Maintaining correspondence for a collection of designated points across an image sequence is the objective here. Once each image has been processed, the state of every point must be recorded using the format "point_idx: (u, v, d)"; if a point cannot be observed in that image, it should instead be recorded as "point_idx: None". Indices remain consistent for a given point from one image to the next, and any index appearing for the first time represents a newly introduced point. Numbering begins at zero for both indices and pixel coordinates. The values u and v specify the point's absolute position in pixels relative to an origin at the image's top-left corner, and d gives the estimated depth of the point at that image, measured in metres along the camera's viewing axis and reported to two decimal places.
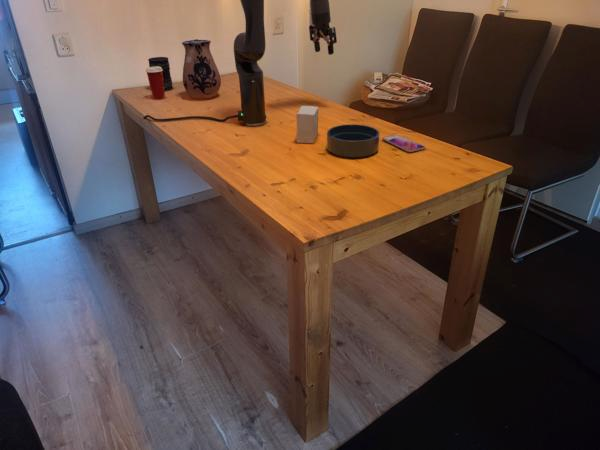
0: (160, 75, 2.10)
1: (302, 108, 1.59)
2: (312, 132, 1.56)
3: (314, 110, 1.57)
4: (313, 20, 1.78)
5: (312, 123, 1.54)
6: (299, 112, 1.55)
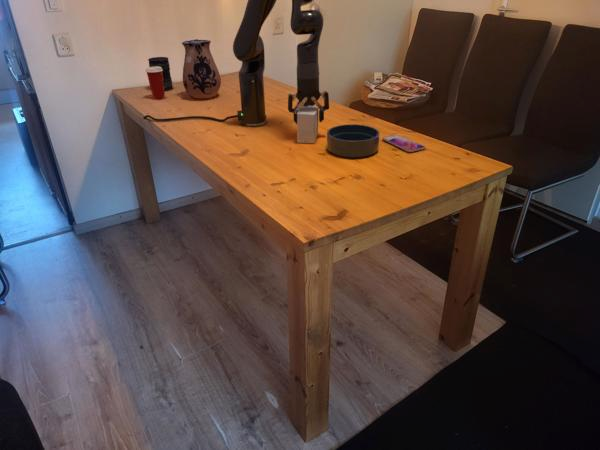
0: (160, 75, 2.10)
1: (302, 108, 1.59)
2: (312, 132, 1.56)
3: (314, 110, 1.57)
4: None
5: (312, 123, 1.54)
6: (299, 112, 1.55)
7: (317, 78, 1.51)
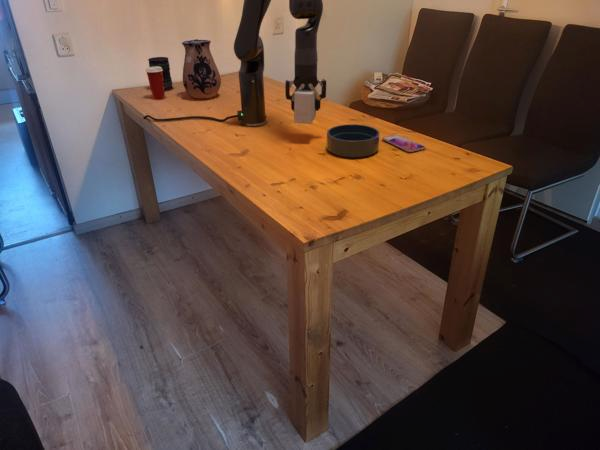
0: (160, 75, 2.10)
1: None
2: (310, 112, 1.52)
3: None
4: None
5: (310, 103, 1.50)
6: (297, 92, 1.51)
7: (315, 64, 1.48)
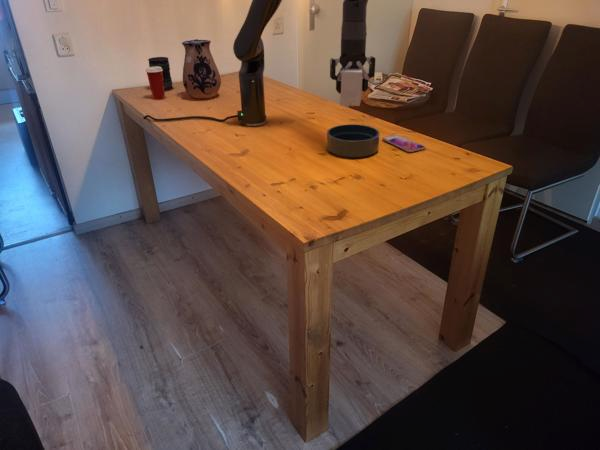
0: (160, 75, 2.10)
1: None
2: (358, 93, 1.38)
3: None
4: None
5: (359, 82, 1.37)
6: (344, 70, 1.37)
7: (364, 39, 1.34)
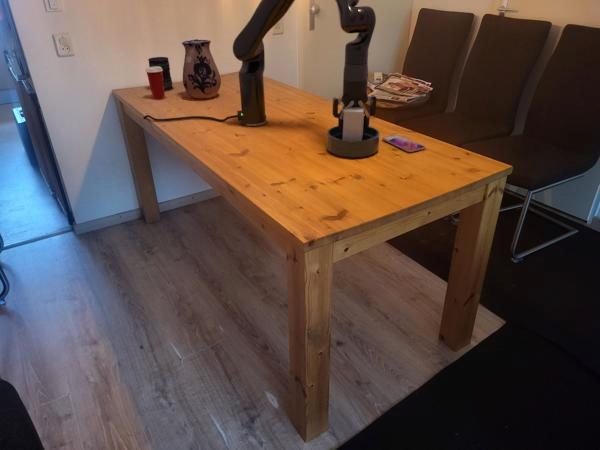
0: (160, 75, 2.10)
1: None
2: (360, 131, 1.43)
3: None
4: None
5: (360, 121, 1.42)
6: (346, 109, 1.42)
7: (366, 80, 1.39)
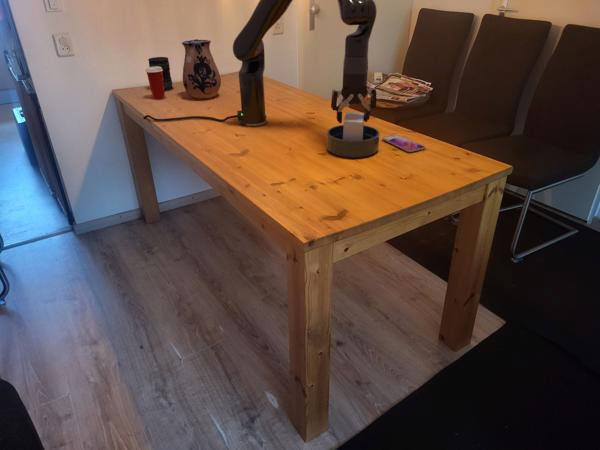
0: (160, 75, 2.10)
1: (347, 115, 1.48)
2: None
3: (361, 117, 1.46)
4: None
5: (360, 131, 1.43)
6: (346, 119, 1.44)
7: (366, 73, 1.38)
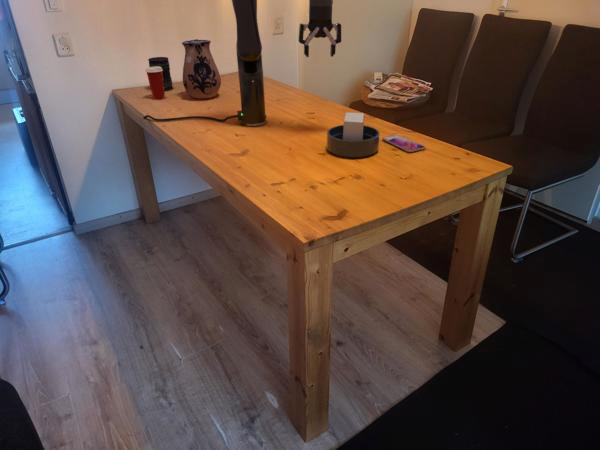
0: (160, 75, 2.10)
1: (348, 115, 1.48)
2: None
3: (361, 117, 1.46)
4: None
5: (360, 131, 1.43)
6: (346, 119, 1.44)
7: (330, 6, 1.45)
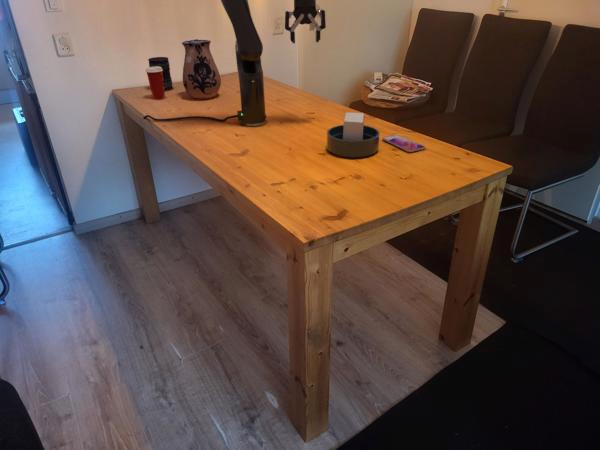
0: (160, 75, 2.10)
1: (348, 115, 1.48)
2: None
3: (361, 117, 1.46)
4: None
5: (360, 131, 1.43)
6: (346, 119, 1.44)
7: None
